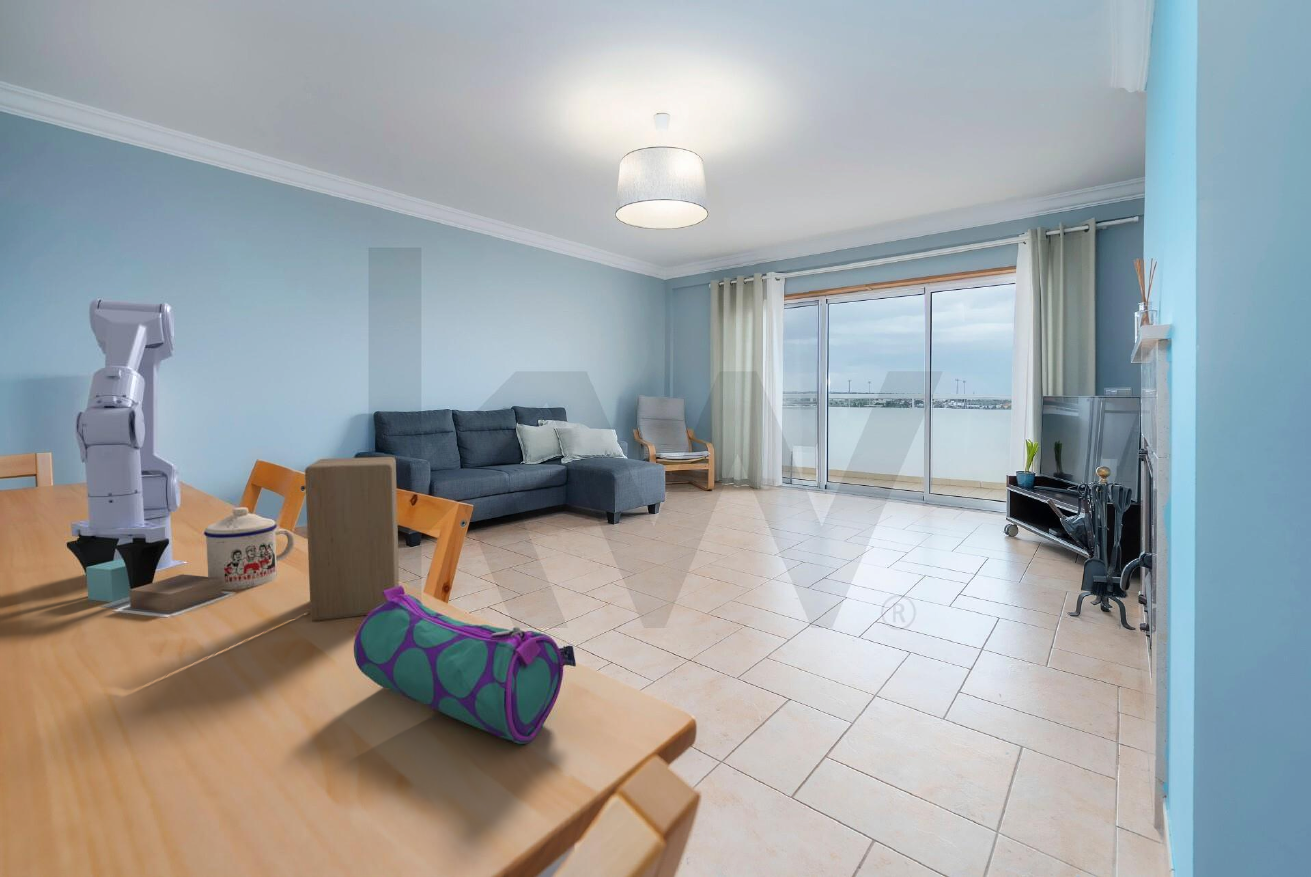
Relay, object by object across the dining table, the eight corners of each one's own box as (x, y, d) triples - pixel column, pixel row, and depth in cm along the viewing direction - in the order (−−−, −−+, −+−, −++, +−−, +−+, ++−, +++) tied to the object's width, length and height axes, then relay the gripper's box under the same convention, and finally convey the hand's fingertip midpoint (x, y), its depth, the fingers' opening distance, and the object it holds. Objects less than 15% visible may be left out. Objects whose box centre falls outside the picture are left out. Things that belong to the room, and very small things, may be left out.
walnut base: (130, 608, 79) (129, 589, 79) (183, 591, 86) (182, 574, 86) (171, 612, 77) (170, 594, 77) (221, 595, 84) (221, 578, 84)
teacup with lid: (223, 597, 85) (219, 516, 84) (195, 586, 89) (191, 509, 89) (309, 575, 95) (306, 503, 94) (280, 566, 100) (277, 498, 99)
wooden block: (323, 597, 85) (318, 458, 83) (399, 589, 88) (395, 456, 87) (310, 622, 76) (304, 467, 74) (395, 612, 79) (391, 464, 78)
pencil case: (577, 715, 54) (576, 613, 54) (508, 768, 47) (507, 650, 46) (424, 663, 65) (421, 577, 64) (347, 699, 57) (343, 602, 56)
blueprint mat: (93, 611, 79) (93, 608, 79) (168, 588, 88) (167, 585, 88) (169, 620, 76) (169, 617, 76) (237, 595, 85) (237, 592, 85)
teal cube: (88, 602, 82) (86, 567, 82) (124, 592, 87) (121, 558, 86) (113, 605, 81) (110, 569, 81) (147, 594, 86) (145, 560, 85)
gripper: (42, 495, 81) (49, 593, 82) (123, 500, 77) (130, 602, 78) (101, 487, 87) (106, 577, 88) (178, 492, 84) (183, 585, 85)
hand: (121, 588), depth 84 cm, fingers open, 7 cm apart
